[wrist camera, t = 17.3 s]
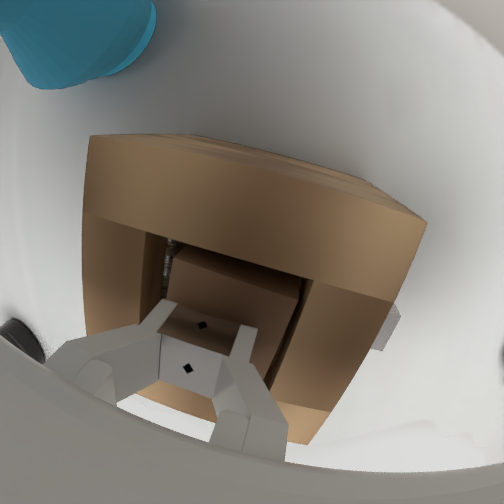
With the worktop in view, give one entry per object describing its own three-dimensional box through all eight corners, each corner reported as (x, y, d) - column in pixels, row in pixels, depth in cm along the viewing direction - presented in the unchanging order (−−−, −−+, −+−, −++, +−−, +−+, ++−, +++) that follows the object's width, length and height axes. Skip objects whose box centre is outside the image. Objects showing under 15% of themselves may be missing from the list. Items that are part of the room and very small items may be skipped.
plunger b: (105, 271, 14) (89, 283, 13) (109, 198, 12) (90, 204, 11) (182, 299, 14) (170, 315, 12) (194, 221, 12) (182, 231, 11)
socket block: (166, 287, 20) (91, 372, 12) (191, 134, 16) (90, 135, 8) (311, 330, 19) (307, 445, 11) (365, 180, 15) (427, 222, 7)
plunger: (281, 330, 13) (278, 348, 12) (308, 253, 12) (307, 267, 11) (368, 351, 13) (372, 370, 12) (403, 281, 12) (412, 297, 10)
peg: (221, 259, 18) (159, 350, 10) (237, 200, 17) (173, 257, 9) (281, 279, 18) (259, 386, 10) (302, 221, 17) (297, 300, 9)
